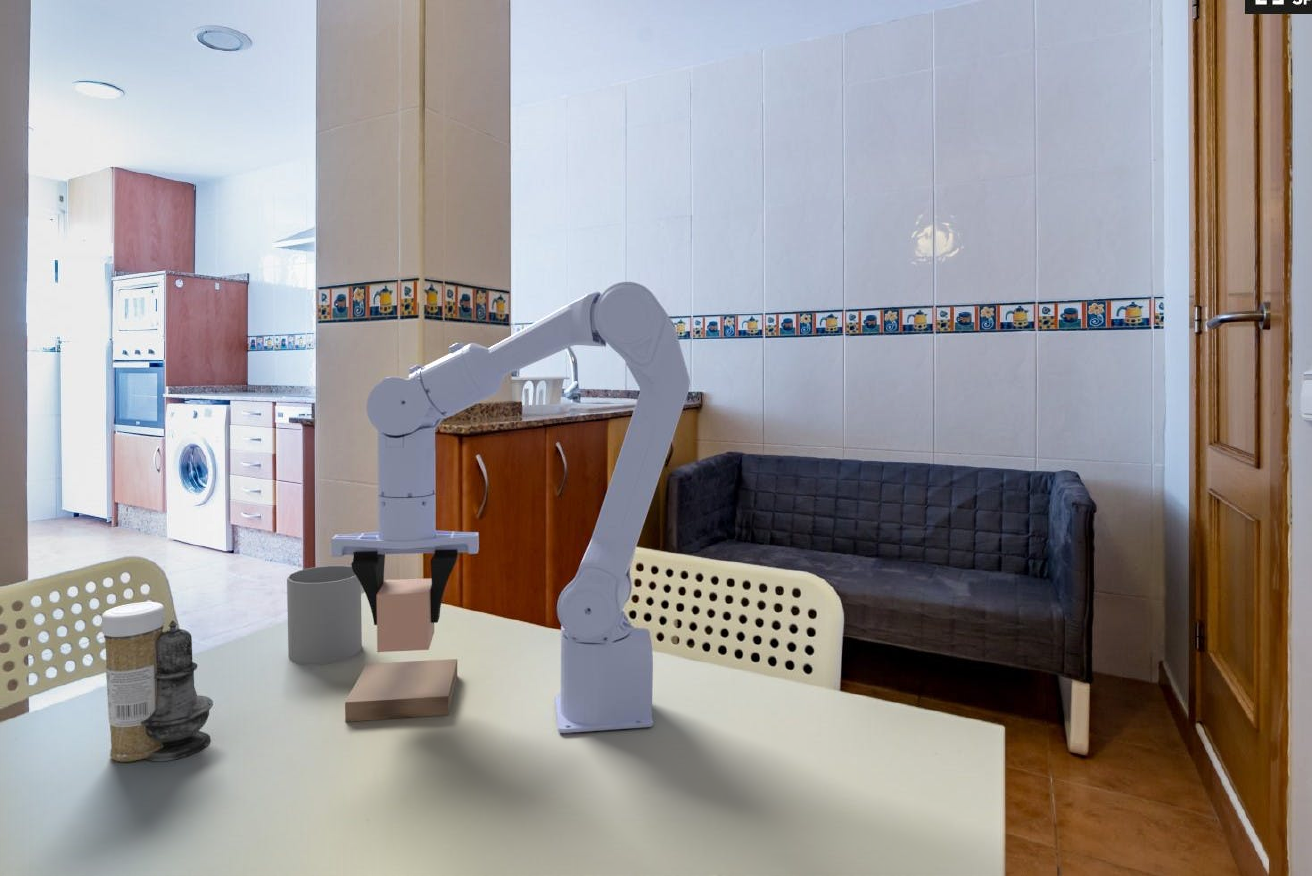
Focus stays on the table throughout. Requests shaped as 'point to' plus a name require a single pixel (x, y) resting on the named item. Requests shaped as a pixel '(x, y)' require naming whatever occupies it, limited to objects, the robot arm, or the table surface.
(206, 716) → the salt shaker
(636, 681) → the robot arm
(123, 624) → the sprinkles bottle
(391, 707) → the board
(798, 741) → the table surface
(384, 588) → the block
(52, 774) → the table surface
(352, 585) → the cup
